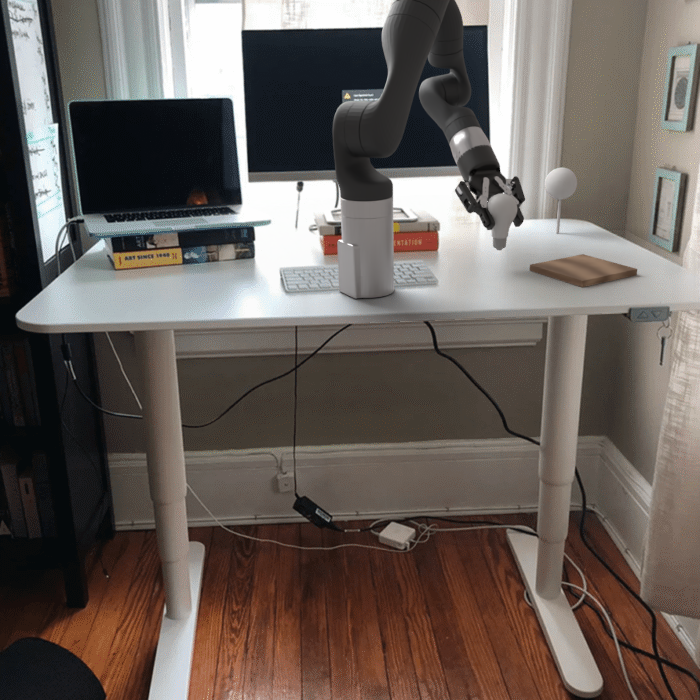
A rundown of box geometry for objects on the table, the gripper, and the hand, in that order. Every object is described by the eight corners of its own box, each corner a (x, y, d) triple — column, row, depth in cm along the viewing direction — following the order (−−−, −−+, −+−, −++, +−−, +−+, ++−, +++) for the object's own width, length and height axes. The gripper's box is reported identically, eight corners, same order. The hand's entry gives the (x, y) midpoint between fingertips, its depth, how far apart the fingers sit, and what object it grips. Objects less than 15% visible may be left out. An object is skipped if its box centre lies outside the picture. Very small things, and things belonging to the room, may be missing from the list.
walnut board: (582, 287, 144) (582, 280, 144) (529, 270, 155) (529, 264, 155) (636, 275, 150) (637, 268, 150) (582, 259, 162) (582, 254, 161)
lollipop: (570, 229, 188) (575, 165, 182) (575, 236, 181) (580, 169, 176) (540, 230, 188) (543, 165, 183) (544, 236, 182) (547, 170, 176)
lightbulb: (490, 255, 152) (493, 197, 148) (478, 247, 158) (480, 192, 154) (520, 252, 153) (523, 195, 149) (507, 245, 159) (509, 190, 155)
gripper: (450, 145, 152) (482, 218, 146) (512, 141, 158) (546, 211, 152) (435, 170, 159) (466, 241, 153) (496, 165, 164) (527, 233, 158)
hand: (505, 225), depth 152 cm, fingers closed on lightbulb, 6 cm apart
